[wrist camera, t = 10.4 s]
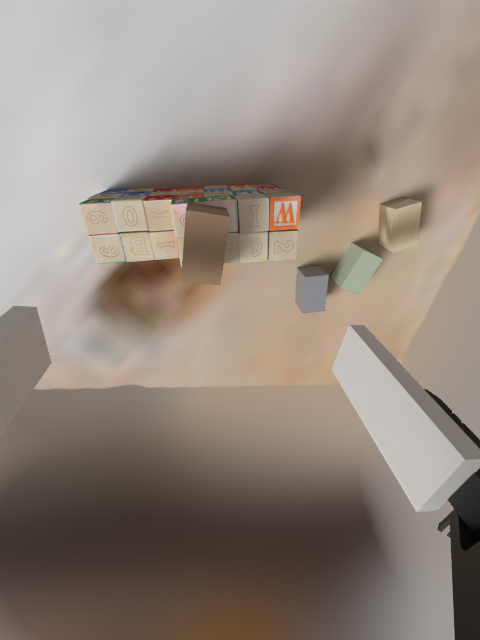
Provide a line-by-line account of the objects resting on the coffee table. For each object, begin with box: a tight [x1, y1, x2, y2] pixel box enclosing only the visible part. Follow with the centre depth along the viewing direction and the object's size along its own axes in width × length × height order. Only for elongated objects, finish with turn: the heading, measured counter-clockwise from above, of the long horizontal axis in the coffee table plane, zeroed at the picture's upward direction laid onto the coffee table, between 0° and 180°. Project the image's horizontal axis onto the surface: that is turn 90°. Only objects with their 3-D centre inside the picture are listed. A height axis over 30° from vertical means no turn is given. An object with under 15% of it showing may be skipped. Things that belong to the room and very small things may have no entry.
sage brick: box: [330, 243, 383, 295], centre depth 42 cm, size 6×4×4 cm, turn 156°
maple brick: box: [378, 197, 422, 252], centre depth 39 cm, size 6×4×4 cm, turn 14°
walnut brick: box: [181, 202, 230, 285], centre depth 25 cm, size 6×4×4 cm, turn 170°
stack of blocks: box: [78, 184, 301, 267], centre depth 32 cm, size 21×6×12 cm, turn 91°
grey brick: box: [295, 265, 329, 313], centre depth 43 cm, size 6×4×4 cm, turn 3°
